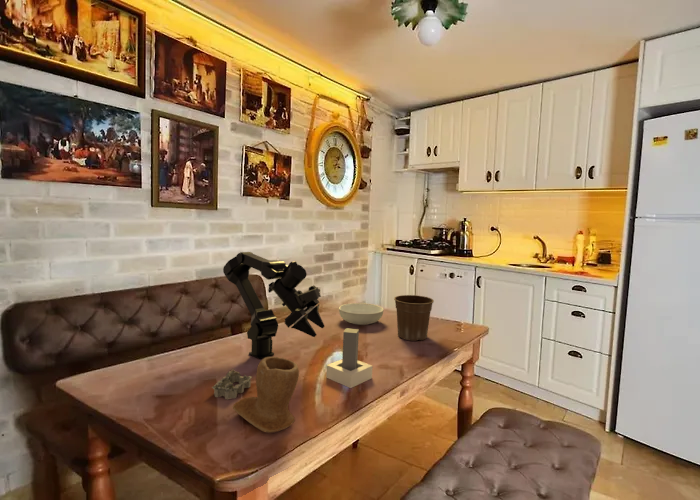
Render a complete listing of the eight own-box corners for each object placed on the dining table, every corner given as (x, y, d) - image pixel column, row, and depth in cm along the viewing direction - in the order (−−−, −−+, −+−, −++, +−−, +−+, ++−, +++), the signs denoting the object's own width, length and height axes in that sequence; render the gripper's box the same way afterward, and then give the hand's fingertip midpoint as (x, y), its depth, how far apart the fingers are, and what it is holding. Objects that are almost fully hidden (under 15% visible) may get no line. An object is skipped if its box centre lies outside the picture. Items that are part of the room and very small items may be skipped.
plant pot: (388, 339, 159) (390, 300, 157) (396, 328, 174) (398, 293, 172) (429, 345, 154) (431, 305, 152) (433, 333, 169) (435, 297, 168)
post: (341, 379, 119) (343, 331, 118) (344, 374, 123) (346, 328, 121) (354, 381, 118) (356, 333, 117) (356, 376, 122) (358, 329, 121)
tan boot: (307, 423, 94) (309, 363, 93) (264, 442, 86) (266, 376, 84) (272, 400, 105) (273, 345, 103) (231, 415, 96) (231, 356, 95)
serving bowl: (362, 314, 197) (363, 300, 196) (392, 324, 181) (392, 309, 180) (329, 320, 184) (329, 305, 183) (358, 331, 168) (358, 316, 167)
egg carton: (233, 381, 116) (233, 367, 115) (255, 386, 113) (255, 372, 113) (208, 396, 106) (208, 381, 105) (231, 402, 103) (231, 387, 103)
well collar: (350, 388, 113) (351, 375, 113) (326, 377, 120) (326, 365, 120) (371, 378, 121) (372, 365, 121) (347, 368, 128) (348, 356, 127)
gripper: (295, 284, 115) (330, 324, 114) (314, 274, 134) (344, 309, 133) (270, 307, 118) (303, 347, 117) (292, 294, 136) (321, 328, 135)
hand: (319, 331), depth 125 cm, fingers open, 9 cm apart
